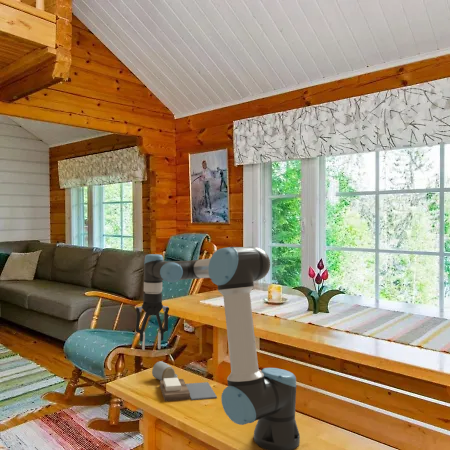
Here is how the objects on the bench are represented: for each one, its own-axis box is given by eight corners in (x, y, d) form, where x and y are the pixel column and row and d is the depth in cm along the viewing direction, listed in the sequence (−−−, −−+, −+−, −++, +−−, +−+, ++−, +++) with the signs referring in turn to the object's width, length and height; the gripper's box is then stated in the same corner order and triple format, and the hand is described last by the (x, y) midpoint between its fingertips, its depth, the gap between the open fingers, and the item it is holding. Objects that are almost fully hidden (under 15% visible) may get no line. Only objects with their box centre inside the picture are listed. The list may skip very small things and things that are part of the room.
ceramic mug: (162, 385, 192) (163, 367, 192) (151, 379, 198) (152, 362, 198) (181, 379, 200) (182, 362, 200) (170, 374, 205) (170, 358, 205)
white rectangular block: (181, 390, 181) (181, 385, 181) (166, 391, 179) (166, 386, 179) (177, 382, 189) (177, 377, 189) (163, 383, 188) (163, 378, 188)
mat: (216, 398, 180) (216, 396, 180) (191, 400, 177) (191, 398, 177) (207, 383, 196) (207, 382, 196) (184, 385, 193) (184, 383, 193)
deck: (189, 399, 178) (189, 393, 178) (164, 401, 176) (165, 395, 176) (182, 384, 194) (182, 378, 194) (159, 386, 191) (159, 380, 191)
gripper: (174, 290, 187) (172, 345, 188) (128, 291, 182) (127, 347, 183) (177, 293, 180) (175, 350, 180) (130, 294, 175) (128, 352, 176)
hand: (151, 348), depth 182 cm, fingers open, 6 cm apart
